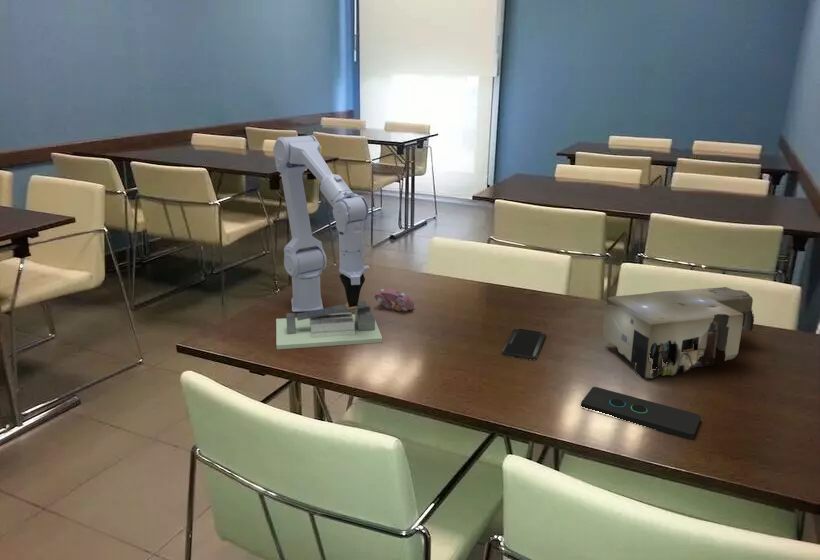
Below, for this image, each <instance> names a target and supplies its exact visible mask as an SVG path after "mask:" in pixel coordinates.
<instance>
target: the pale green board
mask: <svg viewBox="0 0 820 560" xmlns="http://www.w3.org/2000/svg"><path fill="white" fill-rule="evenodd" d="M352 317H353V321H354V325H355V335H345V336H330V337H314V338H312V336H311V328H310V320H309V319H304V320H299V321H298V320H297V317H295V324H296V334H287V319H286V317H285V318H276V319H275V321H276V322H275V323H276V324H275V326H276V327H275V328H276V329H275V330H276V332H275V335H276V337H275V338H276V341H275V342H276V343H275V344H276V350H287V349H290V350H291V349H303V348H315V347H316V348H319V347H333V346H345V345H346V346H347V345H361V344H362V345H363V344H374V343H375V344H376V343H377V344H378V343H383V337H382V334H381V331H380V329H379V326H378V324H377V321H376V320H375V330H372V331H358V329H357V326H356V323H355V313H352Z"/></svg>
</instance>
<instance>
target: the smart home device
mask: <svg viewBox="0 0 820 560" xmlns="http://www.w3.org/2000/svg"><path fill="white" fill-rule="evenodd" d="M581 406H582V407H585V408H588V409H592V410H595V411H599V412H602V413H605V414H609V415H612V416H614V417H617V418H620V419H623V420H626V421H625V422H627V421H630V422H633V423H632V424H634V423H636V424H635V425H637V424H639V425H638V426H640V425H642V426H641V427H644V426H646V427H645V428H647V427H649V428H648V429H651V428H652V430H654V429H656V430H655V431H657V432H661V431H662V432H661V433H665V434H669V435H673V436H676V437H678V438H679V437H680V438H682V439H686V440H694V437H695V435H696V432H697V429H698V428H699V425H700V421H701V417H702V416H701V415H700V414H698V413H695V412H691V411H688V410H683V409H681V408H676V407H674V406H669V405H666V404H662V403H657V402H655V401H650V400H647V399H642V398H639V397H635V396H633V395H628V394H624V393H620V392H617V391H612V390H610V389H606V388H603V387H597V386H592V387H591V389H590V390H588V392H587V394H586V395H585V397H584V398H583V399H582V400H581V402H580V407H581ZM620 419H619V420H620ZM623 420H622V421H623ZM630 422H629V423H630Z"/></svg>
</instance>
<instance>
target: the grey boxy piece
mask: <svg viewBox="0 0 820 560" xmlns="http://www.w3.org/2000/svg"><path fill="white" fill-rule="evenodd" d="M753 302H754V301H753V297H752V296H751V294H750V293H748V292H747V291H744V290H739V289H733V288H730V287H726V286H722V287H708V288H694V289H684V290H683V289H681V290H664V291H654V292H647V293H646V292H645V293H637V294H626V295H625V294H624V295H612V296H609V297H607V298H606V303H604V312H603V313H604V314H603V326H602V332H603V340H604V342H605V343H606V344H607V345H610V346H611V345H614V346H615V347H617V350H618V353H620V354H621V355H622V356H624V357H625V358H626V359H627V360H628V361H629V362H630V363H631V364H632V365H633V364H634V372H635V373H636V372H637V373H638V374H639V375H640V376H641V378H644V379H645V380H648V379H654V378H656V377H658V376H659V375H661V376H674V375H677V374H678V372H679V373H682V374H684V373H687V372H690V371H691V369H692V368H696V367H708V366H714V364H715V362H716V361H715V360H714V359H717V358H718V359H720V357H719V356H717V354H716V350H718V351H720V352H724V356H725V357H724V361H725V362H726V361H729V360H733V359H734V358H736V357H737V356H738V354H739V349H740V343H741V341H742V340H741V339H742V332H743V331H744V332H752V330H753V328H754V324H755V323H754V322H755V319H754V318H755V315H754V313H753V311H754V310H753ZM695 339H697V340H695ZM693 342H694V343H693ZM674 343H675V344H674ZM693 344H694V351H685V352H684V351H683V350H687V349H691V348H693ZM716 348H717V349H716ZM650 351H651V353H650ZM649 355H650V358H652V359H653V364H652V369H656V370H653V373H652V374H651V375H650V373H649V372H650V370H651V362H650V361H649ZM662 359H663V362H664V363H665V364H666V362H668V363H667V366H663V367H662ZM656 367H657V368H656ZM658 369H659V370H658ZM638 374H637V375H638ZM639 375H638V376H639ZM640 376H639V377H640Z"/></svg>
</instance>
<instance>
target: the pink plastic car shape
mask: <svg viewBox="0 0 820 560" xmlns="http://www.w3.org/2000/svg"><path fill="white" fill-rule="evenodd" d="M374 299H375V301H376V302H377V303H379V305H382V306H383V308H385V309H388V310H390V309H391V308H392V306H393V309H394V310H395V311H397V312H401V311H402V310H403V309H406V310H409V311H412V310H414V309H415V302H414V301H413V299H411V298H410V297H409V296H408V295H407V294H406V293H404V292H401V291H398V290H397V289H393V288H390V289H389V288H388V289H384V288H381V289H380V290H378V291H377V292H376V294H374ZM393 303H394V304H393Z"/></svg>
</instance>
